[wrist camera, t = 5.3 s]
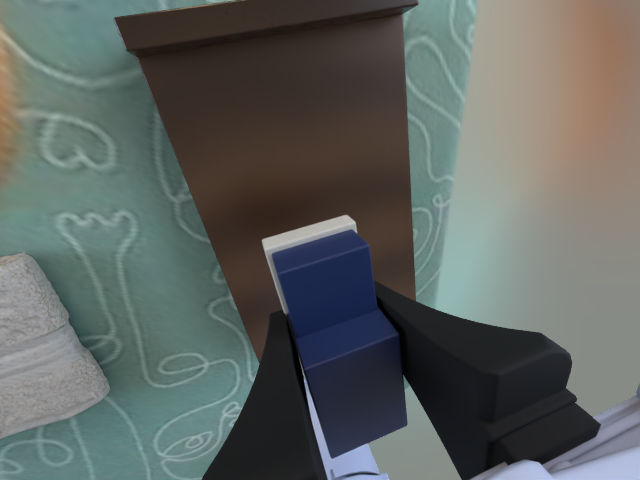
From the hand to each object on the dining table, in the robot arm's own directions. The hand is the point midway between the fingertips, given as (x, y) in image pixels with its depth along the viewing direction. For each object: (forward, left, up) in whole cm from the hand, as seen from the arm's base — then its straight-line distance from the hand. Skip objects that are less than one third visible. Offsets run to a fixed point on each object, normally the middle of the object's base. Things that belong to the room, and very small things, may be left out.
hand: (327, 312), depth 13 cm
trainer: (0, 0, 0) cm, 0 cm away
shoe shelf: (+2, -2, -10) cm, 10 cm away
